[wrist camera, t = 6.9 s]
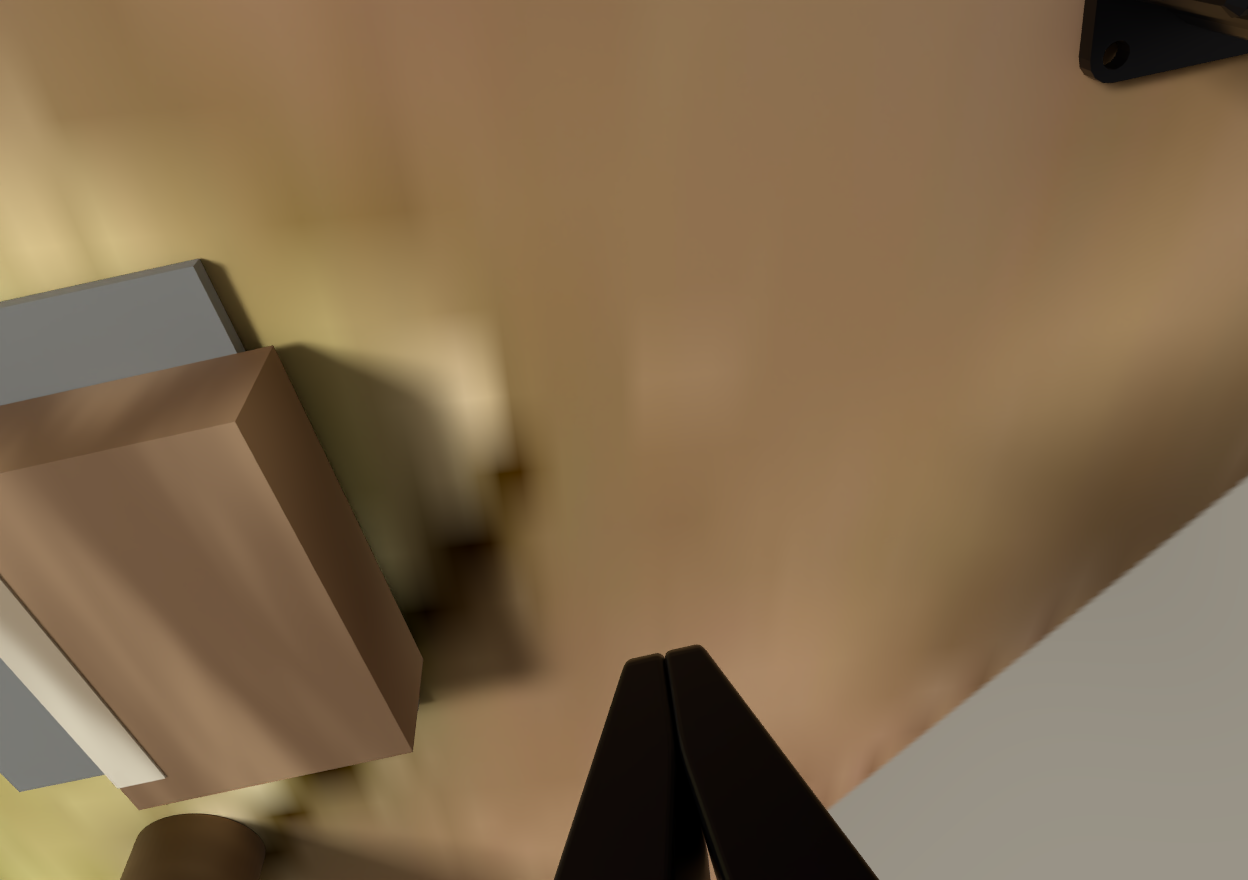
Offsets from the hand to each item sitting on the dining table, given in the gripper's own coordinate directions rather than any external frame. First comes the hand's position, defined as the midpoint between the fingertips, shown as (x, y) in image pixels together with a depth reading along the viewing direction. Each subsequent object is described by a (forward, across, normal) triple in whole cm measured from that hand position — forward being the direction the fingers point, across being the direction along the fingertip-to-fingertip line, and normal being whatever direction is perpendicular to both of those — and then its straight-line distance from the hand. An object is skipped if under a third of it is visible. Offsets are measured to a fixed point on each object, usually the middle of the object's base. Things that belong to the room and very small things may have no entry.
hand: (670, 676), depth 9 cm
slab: (+9, +7, +5) cm, 12 cm away
